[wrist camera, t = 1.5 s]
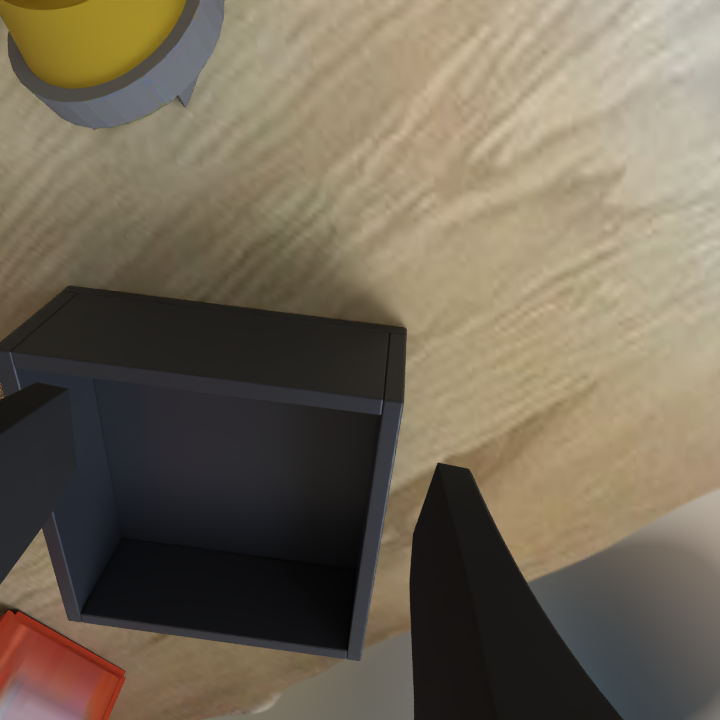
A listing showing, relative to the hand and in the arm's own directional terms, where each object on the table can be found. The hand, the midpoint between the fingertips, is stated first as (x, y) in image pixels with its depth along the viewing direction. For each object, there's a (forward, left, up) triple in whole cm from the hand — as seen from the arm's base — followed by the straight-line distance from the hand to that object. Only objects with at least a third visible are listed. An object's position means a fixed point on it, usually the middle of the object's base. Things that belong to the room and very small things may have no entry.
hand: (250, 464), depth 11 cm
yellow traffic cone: (-6, +8, -10) cm, 14 cm away
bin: (-3, -8, -10) cm, 13 cm away
